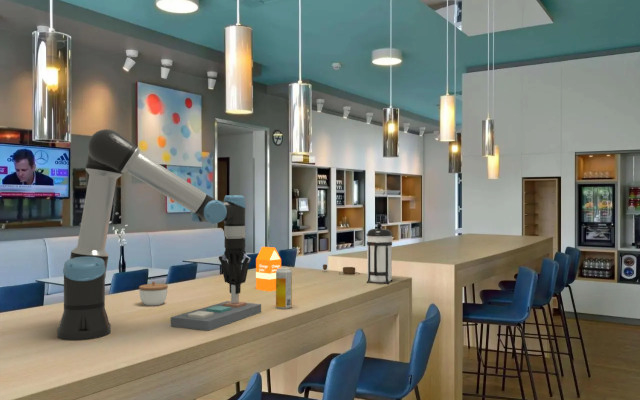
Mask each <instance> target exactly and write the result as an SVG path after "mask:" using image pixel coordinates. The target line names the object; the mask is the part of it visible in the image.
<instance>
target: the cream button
mask: <svg viewBox="0 0 640 400" xmlns="http://www.w3.org/2000/svg"><path fill="white" fill-rule="evenodd" d="M212 315H214V312H206V311H197V312H193V313H190V314H188V317H194V318H206V317H209V316H212Z"/></svg>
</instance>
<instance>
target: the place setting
mask: <svg viewBox="0 0 640 400" xmlns="http://www.w3.org/2000/svg"><path fill="white" fill-rule="evenodd" d="M322 269H323V270H327V269H328V264H324V263H323V264H322ZM339 274H342V275H343V276H346V275H354V274H358V275H360V272H357V271H356V267H354V266H344V267H342V272H339Z"/></svg>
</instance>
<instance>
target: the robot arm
mask: <svg viewBox="0 0 640 400" xmlns="http://www.w3.org/2000/svg"><path fill="white" fill-rule="evenodd" d="M87 151H88V152H87V159H86V164H85V171H86V172H87V174H88V181H87V187H86V193H85V197H84V198H85V199H84V205H83V211H82V216H81V222H80V229H79V235H78V239H77V245H76V247H75V248H74V249H72V250H70V251H71V253H70V256H69V259H67V260H65V262H64V264H63V270H62V273H63V312H62V315H61V319H60V321H59V326H58V327H57V330H56V332H57V336H56V337H57V338H58V339H60V340H64V341H85V340H93V339H97V338H98V339H99V338H102V337H106V336H108V335H109V334H111V331H112V325H111V323H110V322H109V317H108V313H107V310H106V308H105V307H106V305H105V304H106V301H105V300H106V295H105V294H106V292H105V291H106V287H105V286H106V285H105V284H106V278H107V277H106V276H107V268H108V263H109V256H110V255H109V254H108V252H107V250H106V245H107V239H108V231H109V227H110V222H111V221H110V220H111V214H112V208H113V203H114V196H115V190H116V184H117V180H118V179H119V178H121V177H122V176H123V173H127V174H129V175H130V176H132V177H134V178H135V179H137V180H139V181H141V182H143V183H144V184H146V185H148V186H149V187H150V188H152V189H154V190H156V191H157V192H158V193H160V194H162V195H163V196H166V197H167V198H169V199H170V200H172V201H173V202H176V203H178V205H181V206H182V207H183V208H185V209H187V210H189V211H190V212H189V213H190V219H191V222H195V223H196V222H197V223H204V222H205V223H210V224H215V225H216V224H218V223H220V222H224V223H223V224H224V234H223V235H224V237H225V239H224V248H225V249H224V253H223V254H222V255H221V256H218V260H219V263H220V265H221V269H222V275H223V280H224V283H227V284H228V285H229V294H230V295H231V296H230V301H231V303H237V302H240V294H241V290H242V288H241V285H242V284H245V283H246V280H247V275H248V270H249V266H250V263H251V261H252V260H253V259H252V256H248V255H247V253H246V238H245V237H246V209H247V207H246V199H245V197H244V196H243V195H239V194H238V195H237V194H234V195H225V196H224V198H223V200H217V199H215V198H213V197H212V196H210V195H208V194H207V193H205V192H204V191H203V190H201V189H199V188H197V187H196V186H194V185H193V184H191V183H189V182H188V181H186V180H185V179H183V178H182V177H180V176H178V175H177V174H175V173H173V172H172V171H171V170H169V169H167V168H165V167H164V166H162V165H161V164H159V163H157V162H156V161H155V160H153V159H151V158H150V157H148V156H146V155H145V154H143V153H142V152H140V147H138V146H136V144H134V143H132V142H131V141H129V140H128V139H127V138H126V137H124V136H123V135H122V134H120V133H119V132H118V131H116V130H112V129H107V128H106V129H100V130H98V131H96V132H94V133H93V134H92V135H91V136H90V138H89V140H88V144H87Z"/></svg>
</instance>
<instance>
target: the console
mask: <svg viewBox="0 0 640 400" xmlns="http://www.w3.org/2000/svg"><path fill="white" fill-rule="evenodd" d="M228 302H231V300H227V301H223V302H219V303H215V304H212V305H209V306H205V307H202V308H198V309H195V310H191V311H188V312H184V313H180V314H176V315H173V316H171V317H170V327H172V328H174V327H175V328H179V329H181V328H182V329H189V330H198V331H207V332H209V331H212V330H215V329H218V328H221V327H223V326H226V325H229V324H232V323H235V322H238V321H240V320H243V319H246V318H249V317H252V316H254V315H255V316H256V315H257V314H261V313H262V303H253V302H252V303H251V302H246V305H244V306H241V307H238V308H236V307H231V310H228V311H225V312H222V313H218V312H214V315H212V316H209V317H206V318H194V317H188V314H190V313H193V312H197V311H206V309H207V308H211V307H214V306H223V304H224V303H228ZM224 307H225V306H224ZM206 312H208V311H206Z"/></svg>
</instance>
